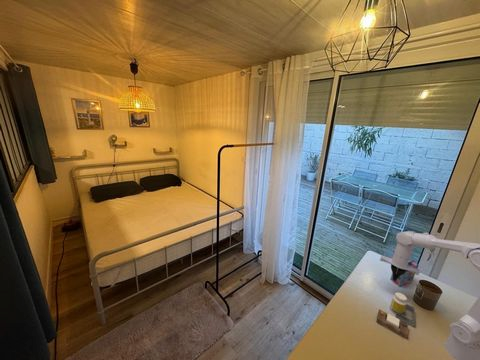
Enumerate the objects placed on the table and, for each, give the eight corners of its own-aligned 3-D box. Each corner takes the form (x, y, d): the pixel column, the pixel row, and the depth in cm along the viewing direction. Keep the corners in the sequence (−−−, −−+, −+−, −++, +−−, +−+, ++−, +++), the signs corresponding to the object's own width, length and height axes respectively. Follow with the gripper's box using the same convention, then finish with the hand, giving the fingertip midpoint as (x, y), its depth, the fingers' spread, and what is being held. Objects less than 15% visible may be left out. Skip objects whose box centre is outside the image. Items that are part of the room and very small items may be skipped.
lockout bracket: (413, 312, 89) (414, 307, 88) (413, 327, 82) (415, 322, 81) (396, 304, 92) (397, 299, 92) (395, 317, 86) (396, 313, 85)
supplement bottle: (405, 316, 86) (410, 301, 84) (393, 314, 87) (398, 299, 85) (399, 307, 91) (404, 292, 88) (387, 305, 92) (392, 290, 89)
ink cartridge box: (400, 288, 102) (407, 264, 98) (389, 280, 107) (396, 257, 103) (412, 284, 105) (420, 261, 101) (401, 276, 110) (408, 254, 106)
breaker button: (397, 323, 82) (399, 319, 82) (397, 331, 79) (399, 326, 79) (386, 317, 85) (387, 313, 84) (385, 324, 82) (386, 319, 81)
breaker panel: (406, 327, 81) (408, 323, 81) (406, 339, 77) (408, 334, 76) (378, 312, 87) (379, 308, 87) (376, 322, 83) (377, 317, 82)
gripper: (422, 258, 90) (413, 282, 93) (383, 245, 99) (377, 267, 102) (422, 266, 84) (413, 291, 88) (382, 251, 93) (375, 275, 97)
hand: (394, 279), depth 95 cm, fingers closed
